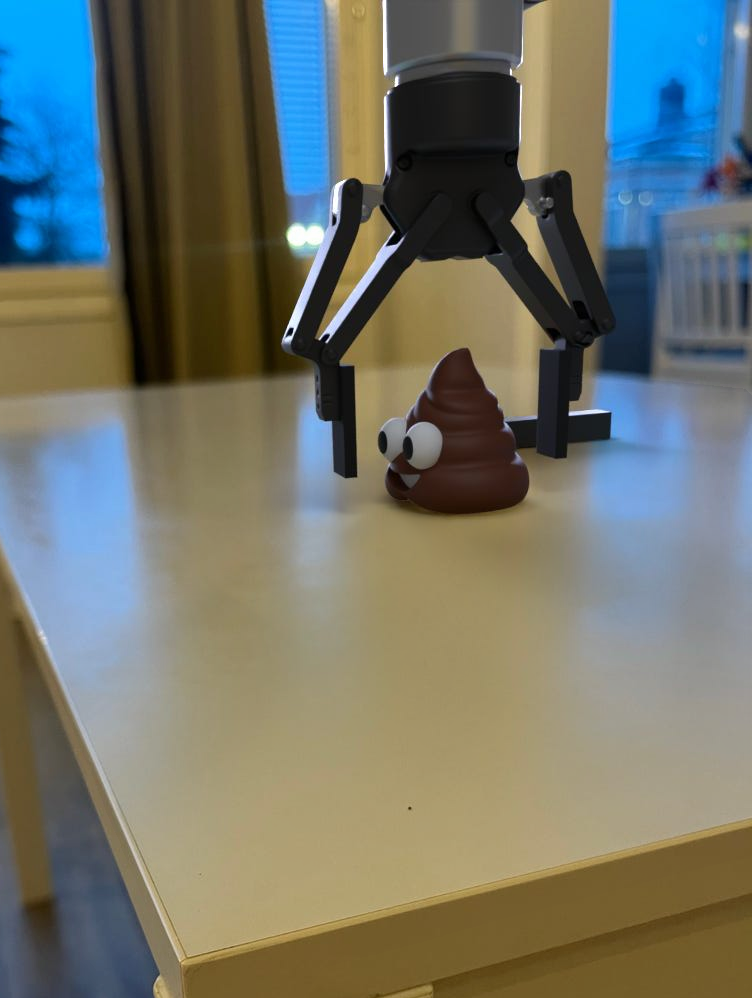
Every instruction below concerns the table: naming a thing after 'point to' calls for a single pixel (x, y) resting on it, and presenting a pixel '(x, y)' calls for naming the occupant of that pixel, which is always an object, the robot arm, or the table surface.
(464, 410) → the poop emoji
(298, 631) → the table surface
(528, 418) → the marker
